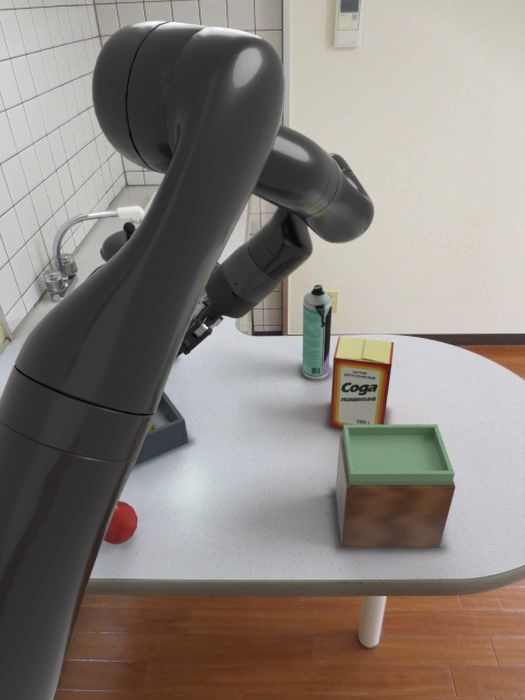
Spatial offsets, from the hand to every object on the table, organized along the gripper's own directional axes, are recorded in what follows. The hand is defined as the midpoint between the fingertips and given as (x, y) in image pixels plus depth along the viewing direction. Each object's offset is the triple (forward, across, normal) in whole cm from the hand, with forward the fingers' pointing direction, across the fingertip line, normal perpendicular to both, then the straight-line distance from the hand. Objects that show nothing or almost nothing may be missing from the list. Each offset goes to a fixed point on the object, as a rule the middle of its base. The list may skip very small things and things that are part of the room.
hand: (178, 339), depth 81 cm
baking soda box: (-4, -12, +36) cm, 38 cm away
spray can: (+3, -25, +29) cm, 38 cm away
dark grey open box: (+23, 0, +8) cm, 25 cm away
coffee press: (+29, -25, +3) cm, 39 cm away
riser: (-8, +9, +40) cm, 42 cm away
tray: (-17, +9, +31) cm, 36 cm away
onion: (+19, +21, +13) cm, 31 cm away
